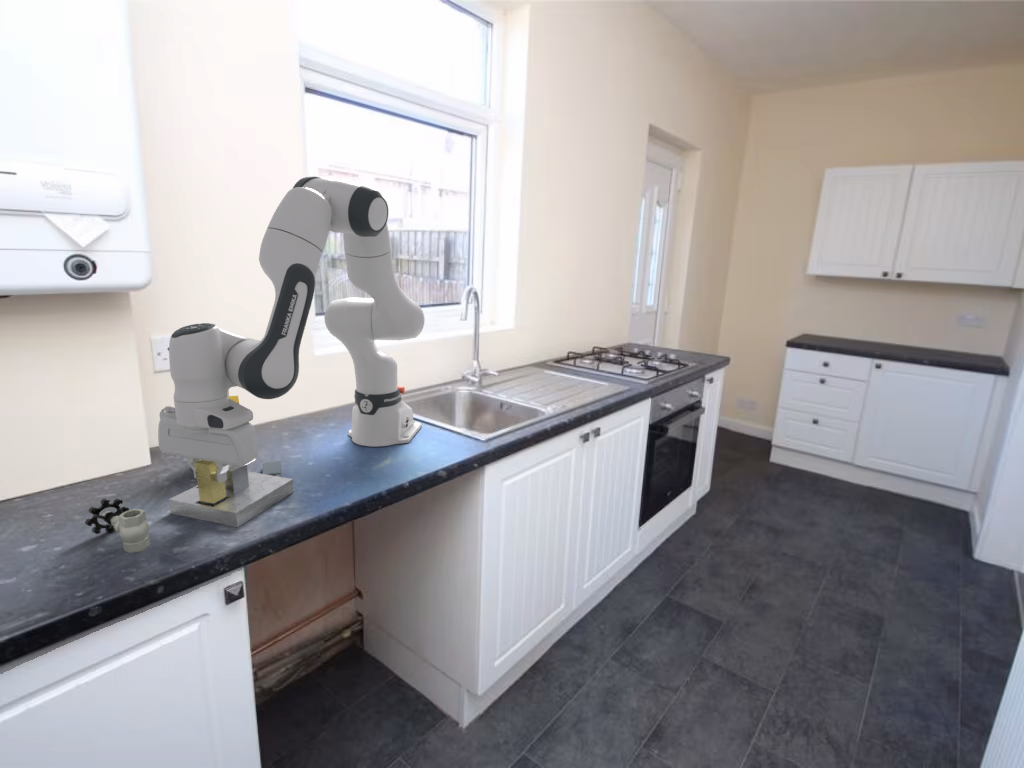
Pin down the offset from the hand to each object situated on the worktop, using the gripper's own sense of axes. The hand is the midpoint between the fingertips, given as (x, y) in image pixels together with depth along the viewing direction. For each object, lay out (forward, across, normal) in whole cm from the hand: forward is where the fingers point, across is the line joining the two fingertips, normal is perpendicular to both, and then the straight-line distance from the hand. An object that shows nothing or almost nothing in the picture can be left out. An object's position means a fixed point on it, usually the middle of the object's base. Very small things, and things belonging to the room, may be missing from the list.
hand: (210, 479), depth 102 cm
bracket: (+8, -2, +19) cm, 20 cm away
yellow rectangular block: (+4, 0, 0) cm, 4 cm away
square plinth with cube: (+7, 0, +6) cm, 9 cm away
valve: (+8, -7, -13) cm, 16 cm away
